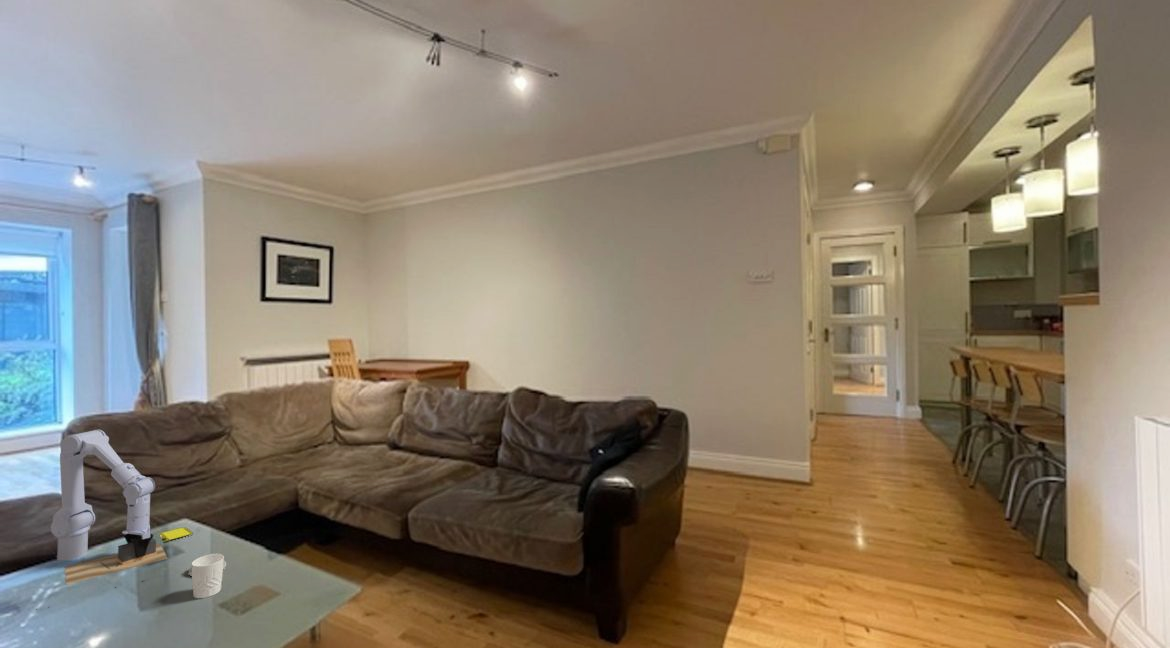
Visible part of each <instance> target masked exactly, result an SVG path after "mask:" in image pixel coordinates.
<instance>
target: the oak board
mask: <svg viewBox="0 0 1170 648" xmlns="http://www.w3.org/2000/svg"><path fill="white" fill-rule="evenodd" d="M156 552H157V554H156V555H153V556H150V557H147V558H143V559H140V560H137V561H133V562H130V563H127V564H124V565H122V564H121V563H119V562H118V561H117V558H118V553H117V554H113V555H109V556H105V557H100V558H96V559H92V560H87V561H84V562H79V563H75V564H71V565H68V566H67V565H66V566H64V571H65V572H64V573H65V583H66V585H71V584H74V583H78V582H83V581H86V580H90V579H95V578H97V577H98V578H99V577H102V576H106V575H110V574H114V573H117V572H121V571H125V570H128V569H133V568H135V567H136V568H137V567H141V566H145V565H148V564H149V565H150V564H152V563H153V564H154V563H157V562H160V561H163V560H164V561H165V560H168V559H169V558H168V555H167V554H166V552H165V550H164V548H163V547H162V544H161V543H159V544H156Z"/></svg>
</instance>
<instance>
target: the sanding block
mask: <svg viewBox="0 0 1170 648" xmlns="http://www.w3.org/2000/svg"><path fill="white" fill-rule="evenodd" d="M156 545H157V540H156V539H155V538H154V537H153V538H152V539H151V541H150V542H149V545H148V547H147V550H146V554H145V556H142V557H139V558H136V555H135V548H134V545H133V543H132V542H131V543H127V542H126V543H124V544H121V545H118V546H117V548H118V549H117V554H118V558H117V561H118V562H119V563H121V564H122V565H124V564H127V563H130V562H133V561H137V560H140V559H143V558H147V557H150V556H153V555H156V554H157V552H156Z"/></svg>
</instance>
